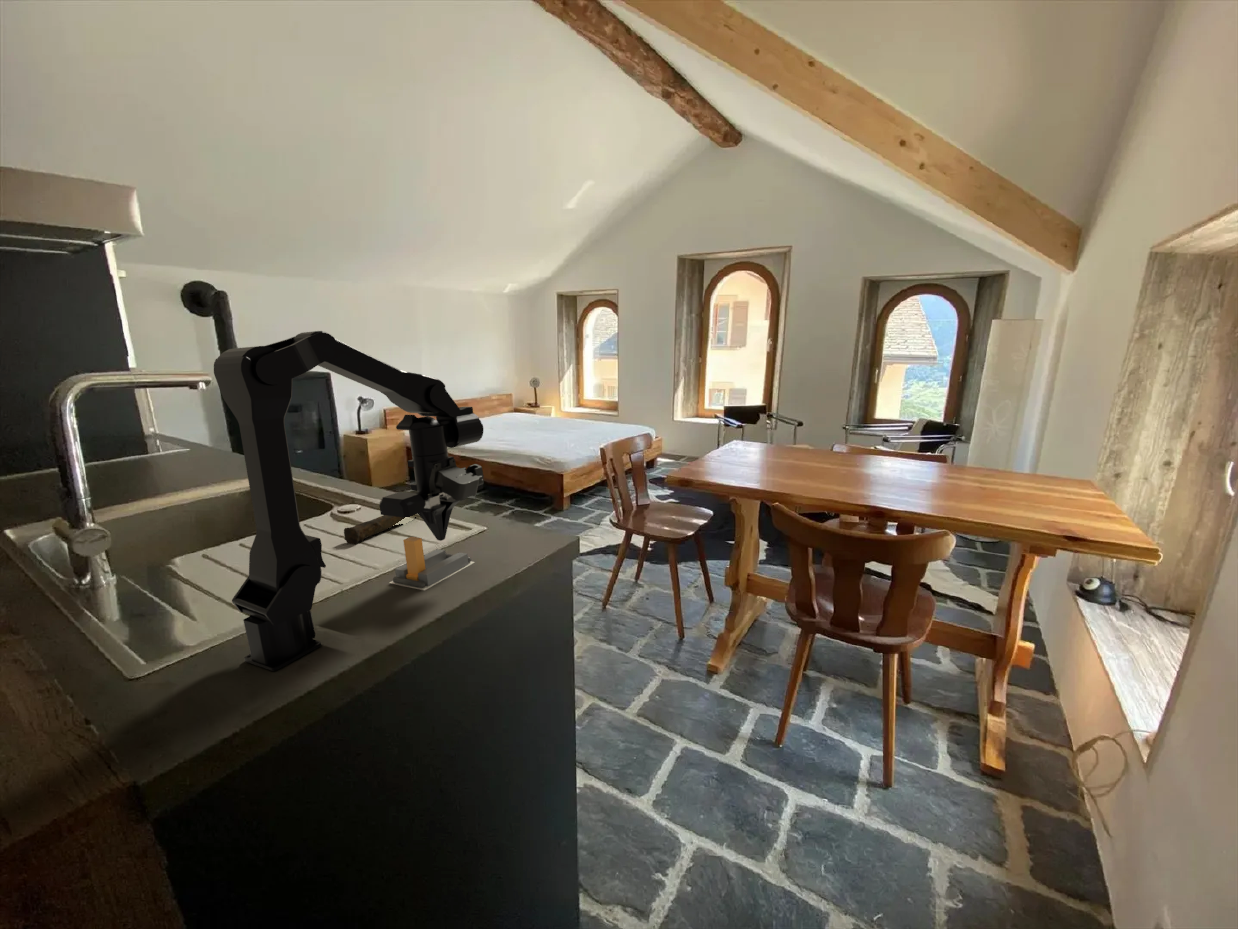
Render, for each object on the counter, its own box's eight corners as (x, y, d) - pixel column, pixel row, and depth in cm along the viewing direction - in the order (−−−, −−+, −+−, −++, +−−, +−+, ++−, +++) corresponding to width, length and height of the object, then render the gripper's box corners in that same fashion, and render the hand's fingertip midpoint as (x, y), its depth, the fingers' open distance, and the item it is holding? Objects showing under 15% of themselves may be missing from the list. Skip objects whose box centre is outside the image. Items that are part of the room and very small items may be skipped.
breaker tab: (417, 582, 84) (412, 542, 83) (406, 580, 85) (401, 540, 84) (428, 576, 86) (423, 537, 85) (417, 574, 87) (412, 535, 86)
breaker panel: (425, 598, 82) (423, 578, 82) (390, 591, 86) (387, 571, 85) (475, 569, 93) (473, 551, 92) (442, 564, 96) (440, 546, 96)
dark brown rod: (356, 546, 108) (353, 525, 108) (344, 544, 110) (341, 523, 109) (425, 520, 125) (423, 501, 124) (413, 518, 127) (411, 500, 126)
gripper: (423, 467, 75) (436, 566, 79) (502, 444, 92) (510, 527, 95) (370, 463, 80) (384, 557, 83) (454, 442, 96) (464, 521, 100)
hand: (441, 539), depth 90 cm, fingers closed
